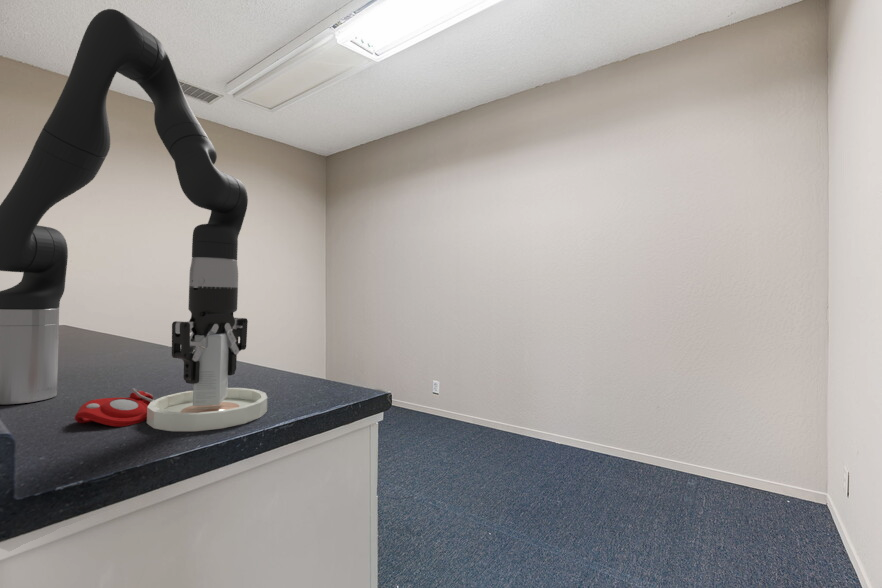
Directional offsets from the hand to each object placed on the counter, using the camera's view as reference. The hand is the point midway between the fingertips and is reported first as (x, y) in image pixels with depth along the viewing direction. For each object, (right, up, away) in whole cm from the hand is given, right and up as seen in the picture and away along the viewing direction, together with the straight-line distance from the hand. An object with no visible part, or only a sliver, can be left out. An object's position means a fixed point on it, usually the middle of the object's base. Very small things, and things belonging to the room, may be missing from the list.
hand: (211, 378), depth 73 cm
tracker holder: (-13, -6, -3) cm, 15 cm away
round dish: (0, -6, 0) cm, 6 cm away
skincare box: (0, -4, 0) cm, 4 cm away
